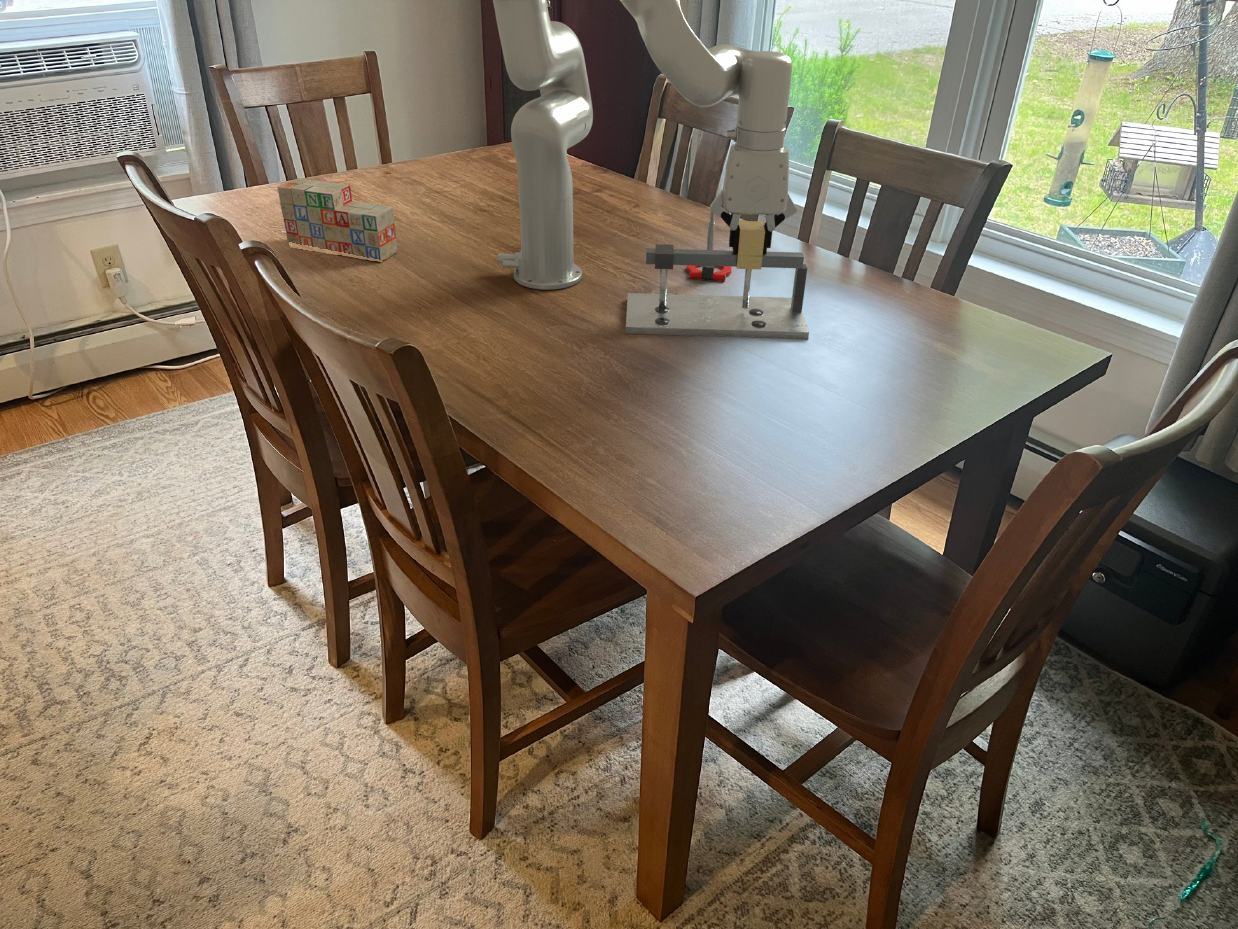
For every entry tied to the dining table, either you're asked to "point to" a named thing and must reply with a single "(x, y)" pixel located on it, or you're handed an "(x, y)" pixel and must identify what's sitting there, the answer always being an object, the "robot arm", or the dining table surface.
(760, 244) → the carriage
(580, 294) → the dining table surface
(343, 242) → the stack of blocks
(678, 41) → the robot arm
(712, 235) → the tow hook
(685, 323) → the hole plate
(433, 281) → the dining table surface
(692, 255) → the beam
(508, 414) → the dining table surface
